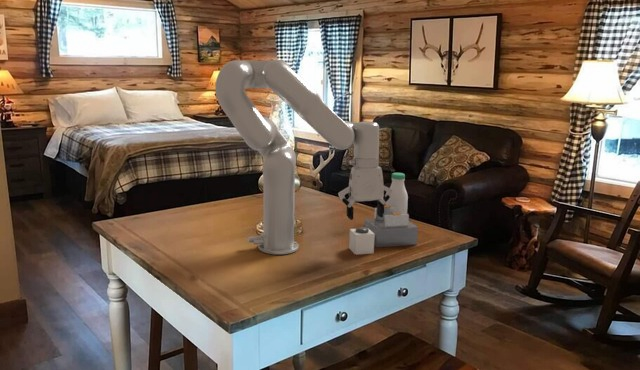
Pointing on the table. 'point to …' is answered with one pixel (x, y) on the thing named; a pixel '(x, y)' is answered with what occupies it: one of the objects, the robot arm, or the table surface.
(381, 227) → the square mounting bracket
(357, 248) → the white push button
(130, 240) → the table surface
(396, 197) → the milk bottle
